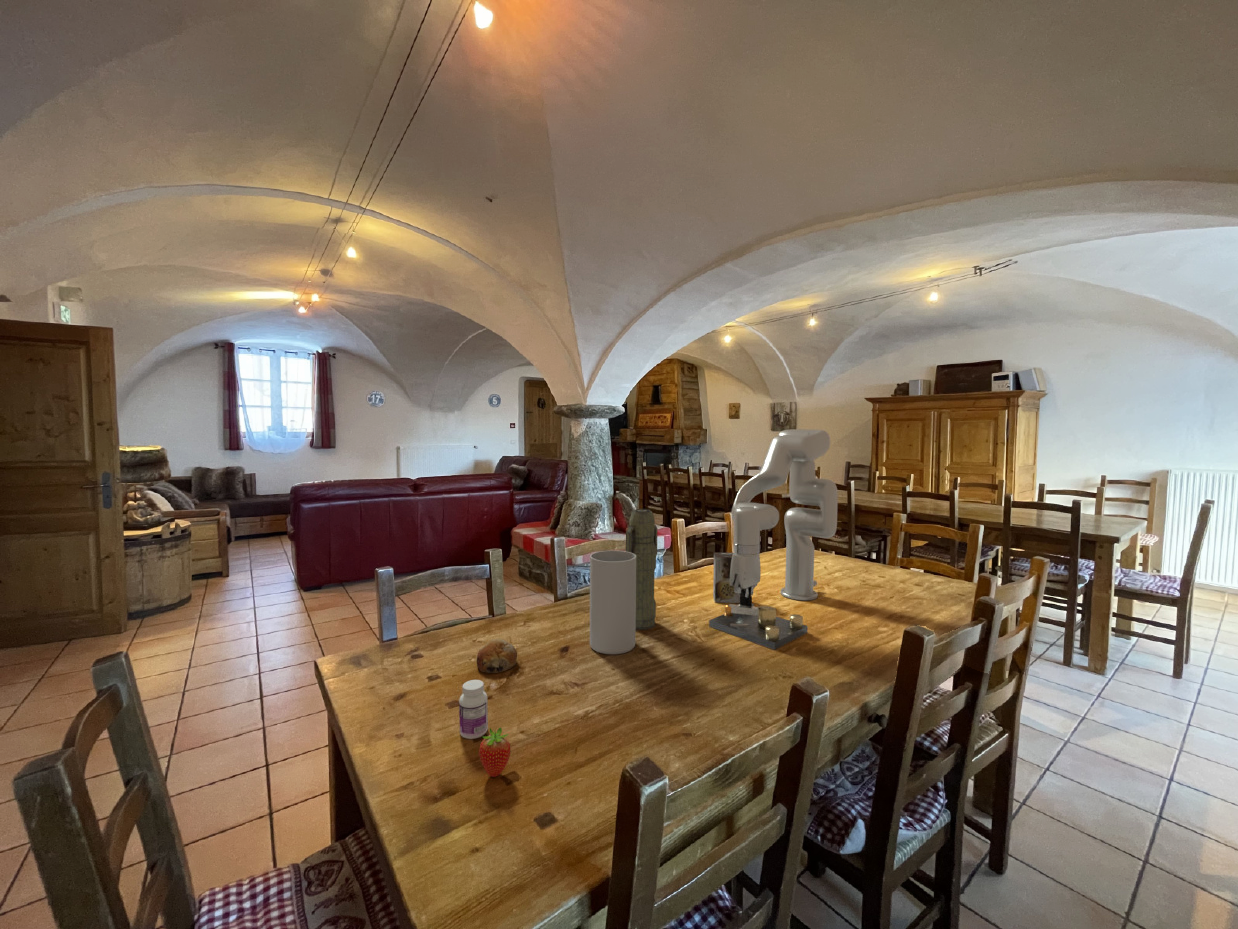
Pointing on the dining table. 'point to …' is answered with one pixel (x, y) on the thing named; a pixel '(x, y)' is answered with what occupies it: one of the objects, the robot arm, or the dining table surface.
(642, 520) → the stone statue
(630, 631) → the cylinder vase
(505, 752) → the fruit
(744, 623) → the base
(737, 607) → the ball-ended bar
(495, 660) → the bread roll
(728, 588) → the coffee box
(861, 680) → the dining table surface
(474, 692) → the pill bottle
